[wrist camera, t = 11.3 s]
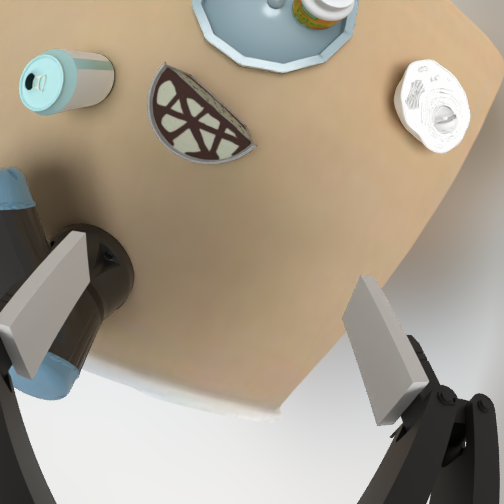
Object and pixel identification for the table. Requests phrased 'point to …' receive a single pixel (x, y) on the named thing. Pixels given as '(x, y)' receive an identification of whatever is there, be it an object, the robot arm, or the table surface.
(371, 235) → the table surface
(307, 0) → the supplement bottle
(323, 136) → the table surface
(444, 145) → the cell model
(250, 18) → the ring tray
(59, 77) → the can
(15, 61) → the table surface
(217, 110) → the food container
